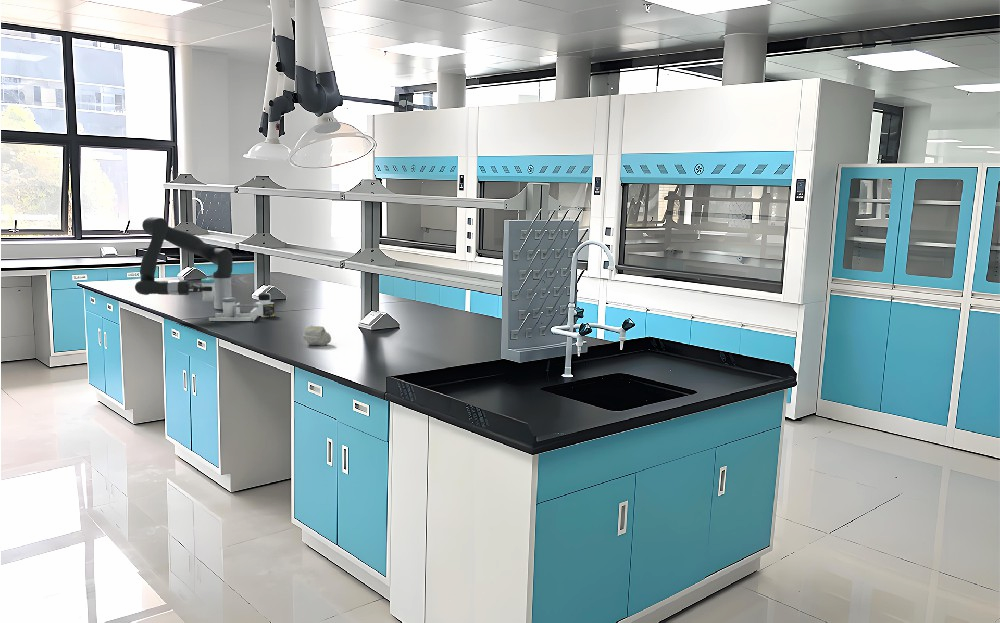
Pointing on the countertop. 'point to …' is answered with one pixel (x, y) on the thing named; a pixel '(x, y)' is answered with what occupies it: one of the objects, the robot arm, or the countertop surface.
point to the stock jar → (228, 306)
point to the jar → (208, 294)
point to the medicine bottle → (265, 305)
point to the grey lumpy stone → (316, 336)
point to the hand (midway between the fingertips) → (213, 287)
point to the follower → (237, 308)
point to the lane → (243, 317)
